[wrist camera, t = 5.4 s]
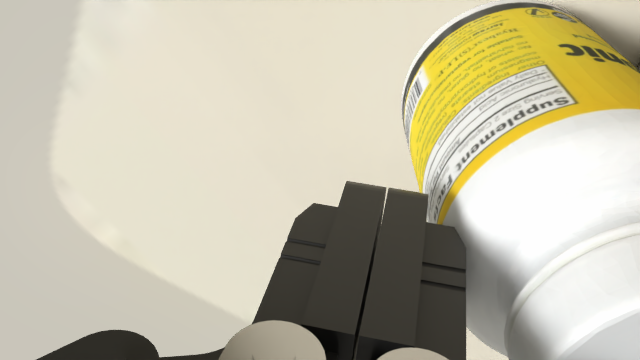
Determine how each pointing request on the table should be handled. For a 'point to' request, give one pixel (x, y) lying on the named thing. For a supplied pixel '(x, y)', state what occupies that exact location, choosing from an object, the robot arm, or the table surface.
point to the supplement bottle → (534, 177)
